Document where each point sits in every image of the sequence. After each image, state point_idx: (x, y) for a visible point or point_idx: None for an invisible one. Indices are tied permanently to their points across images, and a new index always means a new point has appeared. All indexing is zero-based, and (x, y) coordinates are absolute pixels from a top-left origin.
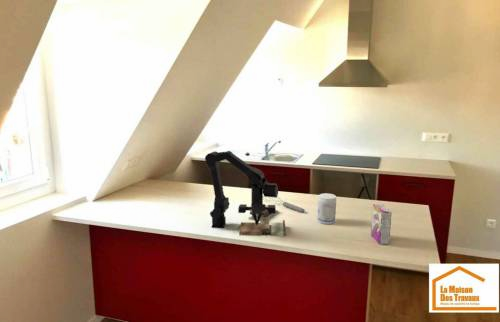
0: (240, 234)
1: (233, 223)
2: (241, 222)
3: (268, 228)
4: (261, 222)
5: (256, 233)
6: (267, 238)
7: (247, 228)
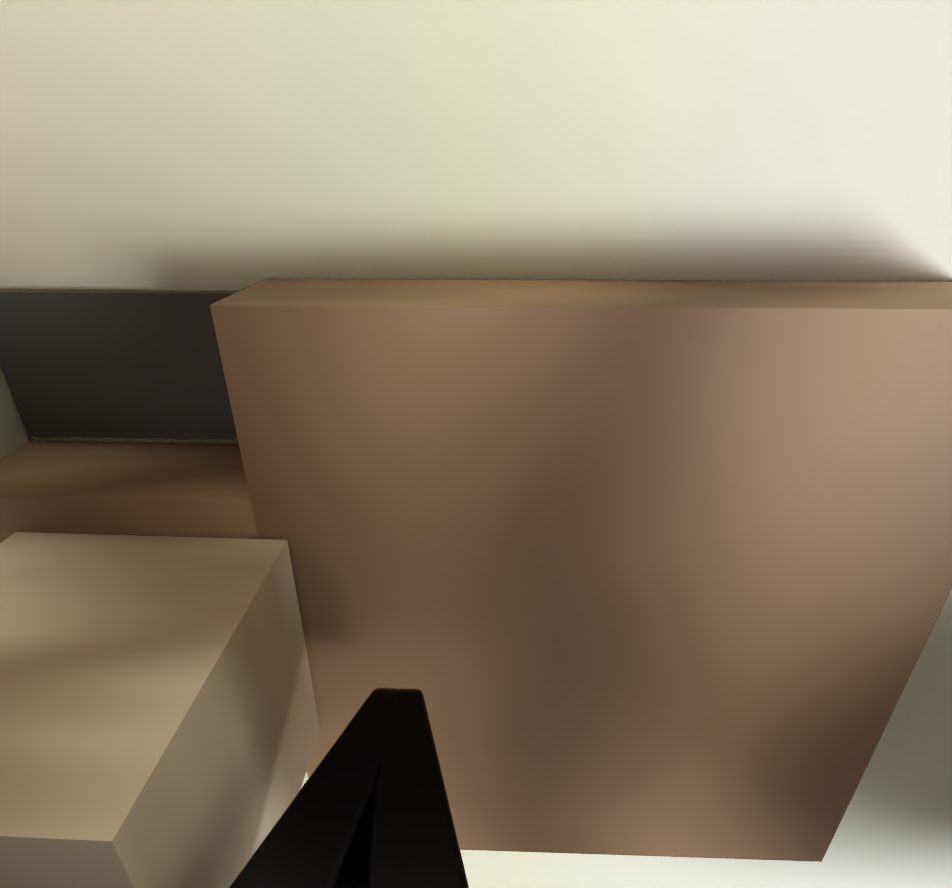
0: (936, 286)
1: (908, 852)
2: (811, 854)
3: (27, 539)
4: (136, 730)
5: (406, 288)
6: (6, 20)
7: (710, 550)
